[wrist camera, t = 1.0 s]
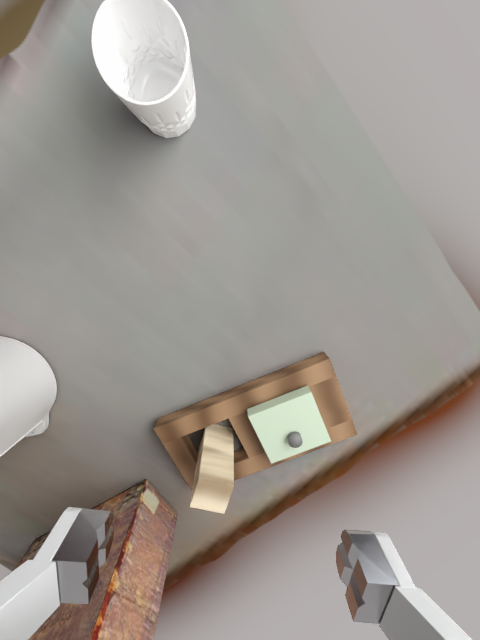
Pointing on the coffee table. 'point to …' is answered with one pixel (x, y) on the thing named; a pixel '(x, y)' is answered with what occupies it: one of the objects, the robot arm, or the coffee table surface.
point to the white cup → (146, 62)
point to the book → (121, 573)
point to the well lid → (289, 424)
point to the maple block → (214, 470)
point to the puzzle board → (235, 407)
